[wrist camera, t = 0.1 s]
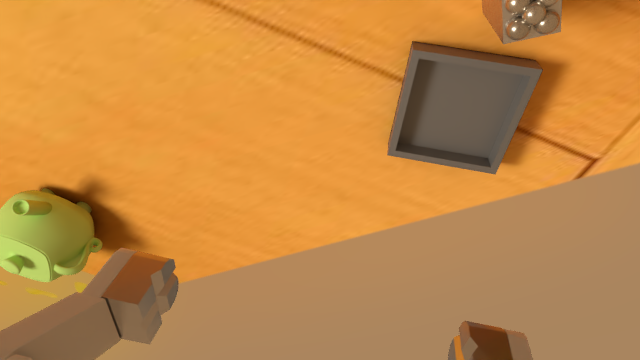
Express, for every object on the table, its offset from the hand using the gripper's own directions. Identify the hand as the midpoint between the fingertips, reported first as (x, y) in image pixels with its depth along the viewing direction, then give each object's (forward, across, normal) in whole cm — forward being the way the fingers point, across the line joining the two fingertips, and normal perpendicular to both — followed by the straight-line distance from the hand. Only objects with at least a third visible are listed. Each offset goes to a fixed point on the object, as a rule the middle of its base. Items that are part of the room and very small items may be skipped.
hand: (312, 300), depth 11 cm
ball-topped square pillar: (+48, -14, -2) cm, 50 cm away
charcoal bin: (+48, -13, +14) cm, 52 cm away
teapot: (+48, +60, +51) cm, 92 cm away
